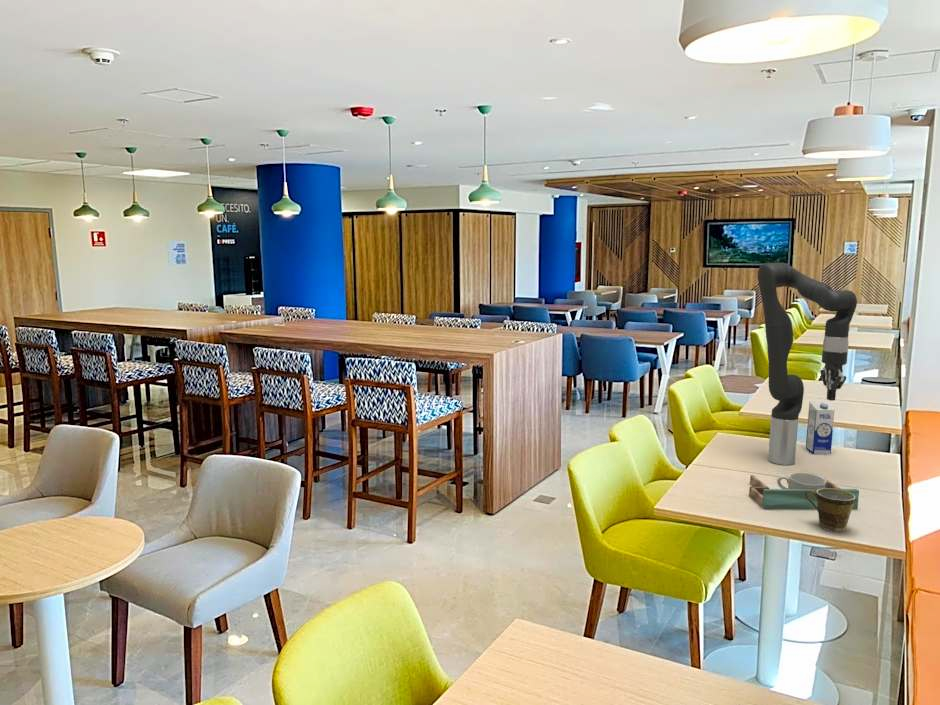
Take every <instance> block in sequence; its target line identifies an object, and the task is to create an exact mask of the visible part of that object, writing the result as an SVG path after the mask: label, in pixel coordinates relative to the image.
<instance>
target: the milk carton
mask: <svg viewBox="0 0 940 705" xmlns="http://www.w3.org/2000/svg"><path fill="white" fill-rule="evenodd" d="M807 413H808V414H807V428H806V437H805V438H806V439H805V440H806V441H805V450H806V449H807V450H808V451H809V452H808V451H807V450H806V451H807V452H808V453H810V452H811V453H812V454H811V453H810V454H811V455H813V454H832V444H833V443H832V442H833V432H834V430H833V429H834V420H835V408H834V407H833V406H832V405H831V404H830V403H829V402H828V401H809V402H808V412H807Z"/></svg>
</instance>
